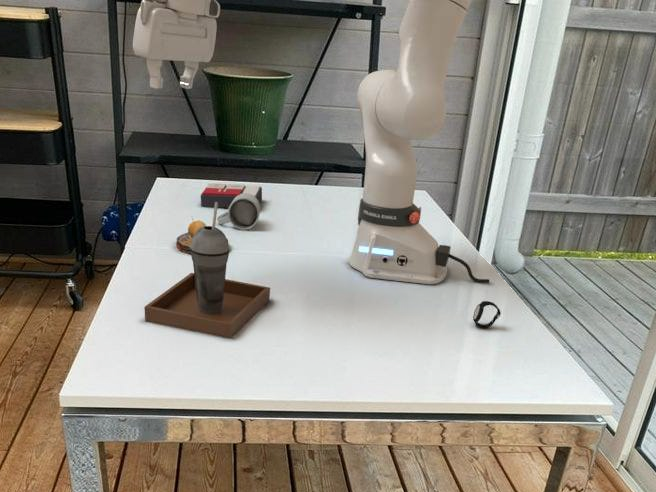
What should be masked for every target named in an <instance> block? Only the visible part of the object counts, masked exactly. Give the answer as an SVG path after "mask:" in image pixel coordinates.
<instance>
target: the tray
mask: <svg viewBox="0 0 656 492" xmlns="http://www.w3.org/2000/svg"><path fill="white" fill-rule="evenodd" d="M270 298H271V287H268V286H265V285H264V286H263V285H259V284H254V283H248V282H242V281H238V280H232V279H231V280H230V279H228V278H225V286H224V296H223V303H222V310H221V312H219V313H215V314H207V313H202V312H200V311H199V310H198V303H197V297H196V287H195V277H194V272H190V273H189V274H187V275H186V276H184V278H182V279H181V280H179V281H177V282H176V283H175V284H174V285H172V286H171V287H169V288H168V289H167V290H166V291H164V292H163V293H161V294H160V295H159V296H157V297H156V298H154V299H153V300H152V301H150V302H148V304H146V305H145V306H144V321H145V322H146V323H147V322H148V323H152V324H157V325H161V326H165V327H171V328H176V329H180V330H181V329H182V330H187V331H190V332H196V333H199V334H205V335H210V336H214V337H220V338H225V339H229V340H231V339H233V338H234V337H235V336H236V335H237V334H238V333H239V332H240V331H241V330H242V329H243V328H245V326H246V325H247V324H248V323H249V322H250V321H251V320H252V319H253V318H254V317H255V316H256V315H257V314H258V313H259V312H261V310H262V309H263V308H264V307H266V305H267V304H269V302H270V300H271V299H270Z"/></svg>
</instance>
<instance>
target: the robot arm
mask: <svg viewBox="0 0 656 492" xmlns="http://www.w3.org/2000/svg"><path fill="white" fill-rule="evenodd" d="M471 3H472V0H409V3H408V5H407V8H406V10H405V13H404V16H403V18H402V21H401V24H400V27H399V28H398V29H399V30H398V39H399V56H398V63H397V68H396V70H395V69H380V70H376V71H372V72H371V73H368V74H367V75H366V76H365V77H364V78H363V79H362V80H361V82H360V84H359V86H358V89H357V93H356V102H357V106H358V109H359V112H360V115H361V118H362V126H363V139H364V149H365V167H364V168H365V170H364V180H363V188H362V189H363V191H362V198H360V200H359V205H358V213H357V226H358V227H357V232H356V237H355V241H354V245H353V247H352V251H351V254H350V256H349V258H348V264H349V266H351V267H352V268H353V269H355V270H357V271H359V272H360V273H362V274H363V275H364V276H365V277H367V278H370V279H379V280H388V281H398V282H406V283H415V284H423V285H437V284H439V283H441V282H443V281H444V280H445V279H446V277H447V275H448V266H447V264H448V262H449V259H450V260H453V261H455V262H457V263H459V264H461V265H462V266H463V267H464V268H465V269H466V271H467V274H468V277H469V278H470V279H471V280H472V281H473V282H476V283H478V284H479V283H481V284H490V280H491V279H488V278H477V277H476V276H474V275H473V272H472V269H471V267H470V265H469V264H468V263H467V262H466V261H464V260H463V259H461V258H460V257H457V256H456V255H454V254H451V253H450V252H451V249H452V248H451V247H452V246H451V245H444V244H439V243H438V241H437V240H436V239H435V238H434V237H433V235H431V233H429V232H428V230H426V229H425V227H424V226H423V225H422V224H421V223H420V221H421V213H422V207H421V206H419V207H418V206H417V205H416V204H415V203H414V197H415V191H416V185H417V176H418V171H419V169H418V162H417V159H416V156H415V153H414V147H413V141H426V140H429V139H431V138H433V137H434V136H435V135H437V134H438V133H439V131H440V130H441V128H442V127H443V126H444V123H445V121H446V116H447V103H446V99H445V84H446V76H447V71H448V65H449V61H450V57H451V54H452V51H453V48H454V46H455V43H456V41H457V38H458V35H459V32H460V30H461V27H462V25H463V23H464V20H465V18H466V15H467V12H468V10H469V7H470V6H471ZM220 12H221V5H220V3H219V2H218V1H217V0H141V2H140V7H139V8H138V10H137V13H136V17H135V24H134V31H133V38H132V50H133V53H134V55H135V56H137V57H141V58H144V59H146V66H147V71H148V73H149V87H150V88H152V89H156V90H159V89H160V90H161V89H163V88H164V80H165V78H164V77H162V74H161V68H162V67H163V61H175V62H176V61H178V62H179V61H180V62H184V64H183V65H184V66H185V68H184V70H183V75H181V76H180V79H179V86H180V88H182V89H186V90H190V89H192V88H193V83H194V78H195V76H196V74H197V72H198V70H199V64H200V63H210V61H211V60H212V58H213V56H214V53H215V52H214V51H215V47H216V46H215V45H216V39H217V38H216V37H217V30H218V29H217V28H218V26H217V25H218V24H217V20H216V19H217V18H219V17H220Z"/></svg>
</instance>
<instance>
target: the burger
mask: <svg viewBox="0 0 656 492" xmlns="http://www.w3.org/2000/svg"><path fill="white" fill-rule="evenodd" d="M191 218H192V220H193V221H192V222H191V223H190V224H189V225H188V228H187V232H185V233H183V234H180V235H179V236H178V237H176V243H175V245H176V248H178V250H179V251H182V252H184V253H188V254H191V251H190V246H191V240H192V238H193V236H194V234H195V233H196V232H197V231H198V230H199V229H200V228H202V227H205V226H207V224H206V223H205V222H204V221H202V220H194V219H193V217H191ZM227 240H228V241H229V239H228V238H227Z"/></svg>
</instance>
